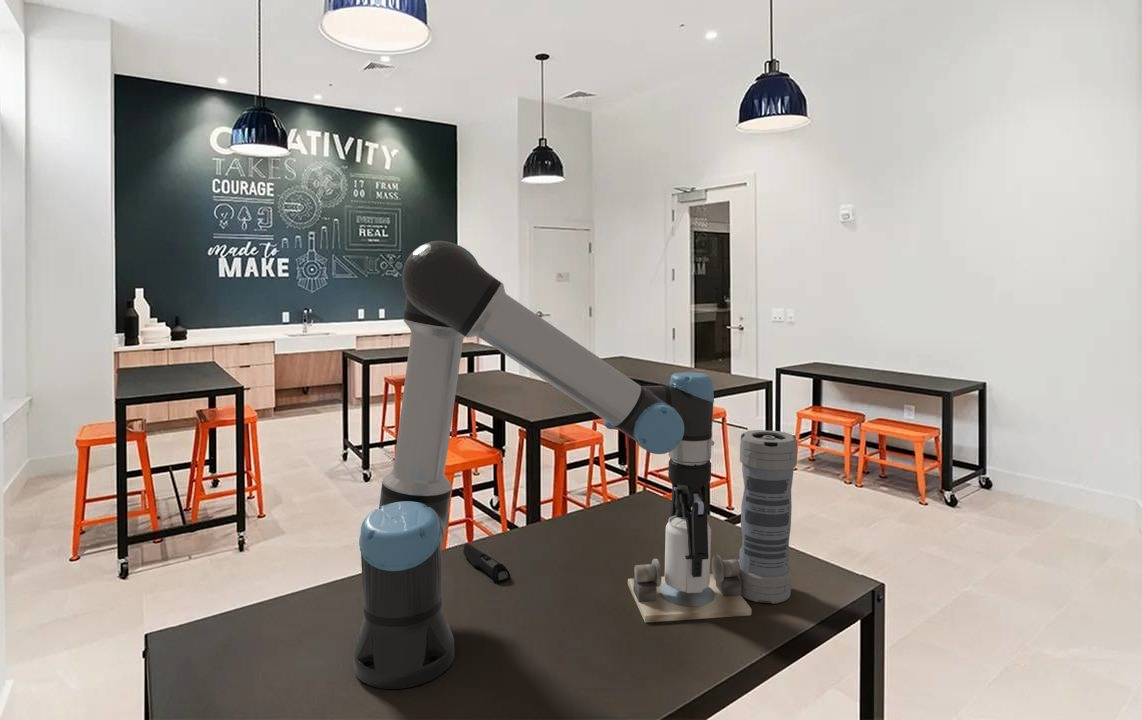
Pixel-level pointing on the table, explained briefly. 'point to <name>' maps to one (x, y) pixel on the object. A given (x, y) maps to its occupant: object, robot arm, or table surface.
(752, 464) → the canister
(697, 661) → the table surface
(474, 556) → the electric trimmer
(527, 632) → the table surface
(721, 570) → the cradle
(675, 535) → the beverage can
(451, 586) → the table surface
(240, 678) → the table surface
